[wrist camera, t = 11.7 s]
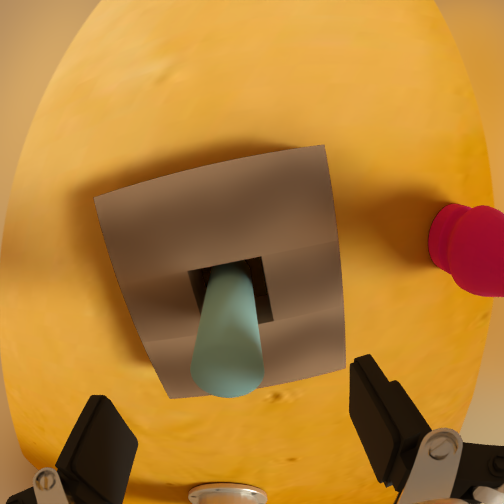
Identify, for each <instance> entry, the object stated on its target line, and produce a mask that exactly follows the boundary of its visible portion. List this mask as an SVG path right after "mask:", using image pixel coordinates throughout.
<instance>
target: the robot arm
mask: <svg viewBox="0 0 504 504" xmlns="http://www.w3.org/2000/svg"><path fill="white" fill-rule="evenodd" d="M349 413H350V417H351V419H352V422H353V424H354V426H355V429H356V431H357V433H358V435H359V438H360V440H361V442H362V445H363V447H364V449H365V452H366V454H367V456H368V459H369V461H370V464H371V466H372V468H373V471H374V473H375V475H376V478H377V480H378V482H379V483H382V482H384V484H385V486H386V487H389V486H391V485H393V486H394V488H395V491H397V492H398V494H397V496H396V498H395V501H394V503H393V504H480V503H484V504H504V446H494V445H482V444H473V443H465V442H463V441H462V438H461V436H460V435H459V434H458V432H456V431H454V430H453V429H449V428H439V429H435V430H433V431H432V430H431V428H430V427H429V425H428V424H427V422H426V421H425V419H424V418H423V416H422V415H421V413H420V412H419V410H418V409H417V407H416V406H415V404H414V403H413V402H412V400H411V399H410V397H409V396H408V394H407V393H406V391H405V390H404V389H403V387H402V386H401V384H400V383H399V382H398V381H396V380H394V381H391V382H389V381H388V379H387V378H386V376H385V375H384V373H383V372H382V370H381V369H380V368H379V366H378V365H377V363H376V362H375V360H374V359H373V357H372V356H371V355H370V354H367V355H364V356H361V357H357V358H355V359H354V363H351V364H350V397H349ZM137 447H138V441H137V438H136V437H135V436H134V434H133V433H132V431H131V430H130V429H129V427H128V426H127V424H126V423H125V422H124V420H123V419H122V417H121V416H120V414H119V413H118V411H117V410H116V408H115V407H114V405H113V403H112V402H111V400H110V399H108V398H107V397H106V396H104V395H92V396H90V398H89V400H88V401H87V403H86V405H85V407H84V409H83V411H82V413H81V414H80V416H79V418H78V420H77V422H76V424H75V426H74V428H73V430H72V432H71V434H70V436H69V438H68V440H67V442H66V444H65V446H64V448H63V450H62V452H61V454H60V456H59V458H58V460H57V462H56V464H55V466H56V467H57V468H58V470H57V471H56V470H54V469H53V468H48V467H46V468H42V469H40V470H39V471H38V472H37V473H36V474H35V476H34V478H33V487H31V488H29V489H26V490H24V491H22V492H20V493H17V494H15V495H12V496H11V497H9V499H8V500H7V502H6V504H122V503H123V499H124V495H125V491H126V487H127V483H128V480H129V476H130V472H131V469H132V465H133V461H134V458H135V454H136V451H137ZM188 499H189V501H190V502H192V503H193V504H265V503H266V502H267V494H266V493H265V492H264V491H263V490H261V489H259V488H256V487H253V486H249V485H243V484H233V483H213V484H205V485H200V486H197V487H194V488H192V489H191V490H190V491H189V493H188Z"/></svg>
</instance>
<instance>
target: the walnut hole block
mask: <svg viewBox="0 0 504 504" xmlns="http://www.w3.org/2000/svg"><path fill="white" fill-rule="evenodd" d="M94 202H95V206H96V210H97V214H98V218H99V222H100V226H101V229H102V233H103V236H104V240H105V243H106V246H107V250H108V253H109V256H110V259H111V262H112V265H113V268H114V271H115V274H116V277H117V280H118V283H119V286H120V289H121V291H122V294H123V297H124V299H125V302H126V305H127V307H128V310H129V312H130V315H131V317H132V320H133V322H134V325H135V327H136V329H137V332H138V334H139V336H140V339H141V341H142V343H143V345H144V348H145V350H146V352H147V354H148V356H149V359H150V361H151V363H152V365H153V367H154V369H155V371H156V373H157V375H158V377H159V379H160V381H161V383H162V385H163V387H164V389H165V391H166V393H167V395H168V396H169V398H170V399H175V398H187V397H198V396H208V395H212V394H209V393H207V392H205V391H204V390H202V389H201V388H200V387H198V386H197V384H196V383H195V382H194V380H193V378H192V376H191V372H190V367H191V362H192V357H193V352H194V347H195V342H196V337H197V332H198V327H199V323H200V318H201V313H202V309H203V304H204V299H205V295H206V287H205V283H204V280H203V276H202V272H201V269H200V268H205V267H210V266H215V265H220V264H225V263H230V262H235V261H240V260H245V259H250V258H255V257H260V258H261V263H262V268H263V273H264V278H265V284H266V289H267V294H268V295H265V296H260V297H255V298H254V299H255V307H256V314H257V321H258V328H259V335H260V342H261V349H262V356H263V363H264V378H263V380H262V382H261V383H260V385H259V386H258V387H257V388H263V387H268V386H273V385H278V384H283V383H288V382H293V381H297V380H302V379H306V378H310V377H314V376H318V375H322V374H326V373H330V372H334V371H337V370H341V369H345V368H346V350H345V320H344V301H343V286H342V273H341V261H340V251H339V241H338V232H337V224H336V216H335V208H334V201H333V194H332V187H331V181H330V175H329V168H328V163H327V157H326V151H325V146H324V145H317V146H309V147H302V148H295V149H289V150H283V151H277V152H271V153H265V154H259V155H254V156H249V157H244V158H239V159H234V160H229V161H224V162H219V163H215V164H210V165H206V166H202V167H197V168H193V169H189V170H185V171H181V172H177V173H173V174H170V175H166V176H162V177H158V178H155V179H151V180H148V181H144V182H141V183H137V184H134V185H131V186H127V187H124V188H121V189H118V190H115V191H112V192H109V193H105V194H102V195H99V196H97V197H94ZM257 388H256V389H257Z"/></svg>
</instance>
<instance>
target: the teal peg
mask: <svg viewBox="0 0 504 504" xmlns="http://www.w3.org/2000/svg"><path fill="white" fill-rule="evenodd" d="M190 372H191V376H192V378H193V380H194V382H195V383H196V384H197V386H198V387H200V388H201V389H202V390H204V391H205V392H207V393H209V394H212V395H214V396H218V397H226V398H232V397H239V396H243V395H246V394H248V393H250V392H252V391H253V390H255V389H256V388H257V387H258V386H259V385H260V383H261V382H262V380H263V378H264V363H263V356H262V349H261V342H260V335H259V328H258V321H257V314H256V307H255V299H254V292H253V285H252V278H251V271H250V268H249V266H248V264H247V263H246V262H245V261H244V260H240V261H235V262H230V263H225V264H220V265H215V266H212V269H211V273H210V277H209V281H208V286H207V290H206V295H205V299H204V304H203V309H202V313H201V318H200V323H199V327H198V332H197V337H196V342H195V347H194V352H193V357H192V362H191V367H190Z"/></svg>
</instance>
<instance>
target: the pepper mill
mask: <svg viewBox="0 0 504 504" xmlns="http://www.w3.org/2000/svg"><path fill="white" fill-rule="evenodd" d="M428 246H429V253H430V256H431V259H432V261H433V262H434V264H435V265H436V266H437V267H439V268H440V269H442V270H444V271H446V272H447V273H449V274H451V275H452V277H453V279H454V281H455V282H456V284H457V285H458V286H459V287H461V288H462V289H464V290H466V291H468V292H469V293H472V294H474V295H479V296H485V297H504V214H503V213H502V212H501V211H499V210H497V209H494V208H492V207H489V206H484V205H481V206H476V207H474V208H470V207H467V206H464V205H460V204H450V205H447V206H446V207H444V208H443V209H442V210H441V211H440V212H439V213H438V214H437V216H436V217H435V219H434V221H433V223H432V226H431V229H430V232H429V239H428Z"/></svg>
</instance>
